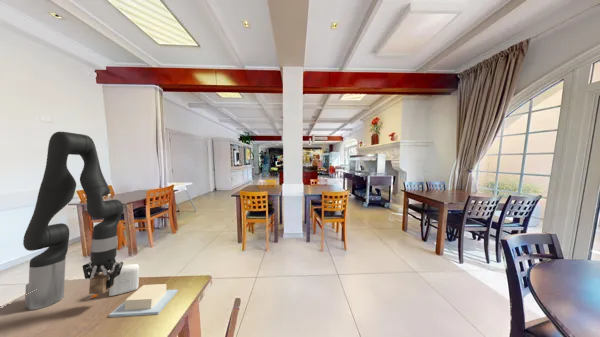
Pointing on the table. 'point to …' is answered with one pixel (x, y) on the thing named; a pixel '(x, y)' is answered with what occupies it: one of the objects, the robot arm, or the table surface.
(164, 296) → the butter dish
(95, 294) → the key chain
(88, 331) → the table surface
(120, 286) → the photo printer
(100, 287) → the walnut block
